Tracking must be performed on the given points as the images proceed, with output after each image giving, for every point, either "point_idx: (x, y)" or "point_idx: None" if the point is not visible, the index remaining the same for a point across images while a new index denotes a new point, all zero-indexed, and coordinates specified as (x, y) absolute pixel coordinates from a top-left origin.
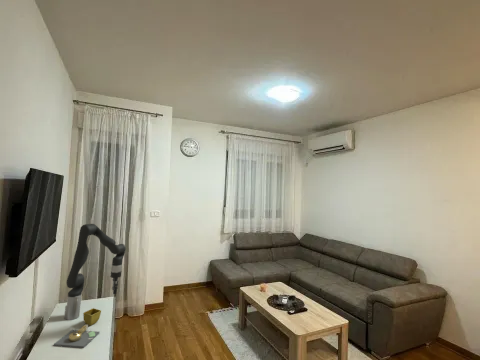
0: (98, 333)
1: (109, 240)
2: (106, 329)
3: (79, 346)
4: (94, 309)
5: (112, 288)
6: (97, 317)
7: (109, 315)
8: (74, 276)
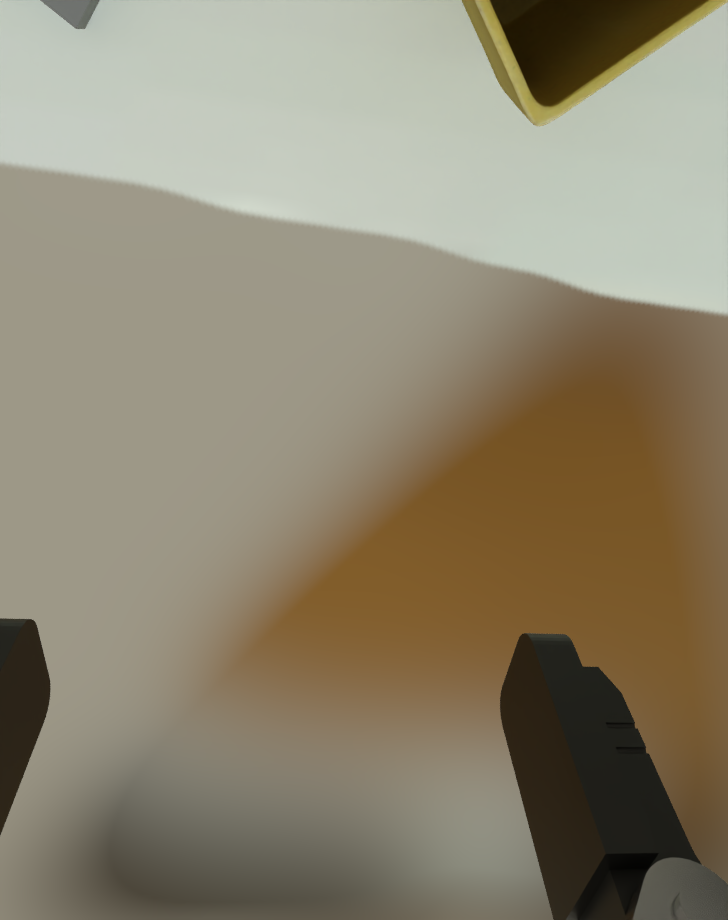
0: (50, 4)
1: None
2: (181, 162)
3: None
4: None
5: (543, 683)
6: (479, 37)
7: (615, 272)
8: None
